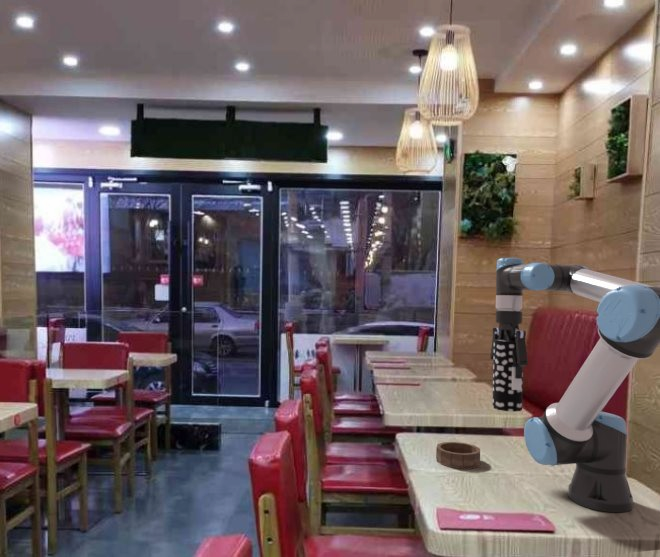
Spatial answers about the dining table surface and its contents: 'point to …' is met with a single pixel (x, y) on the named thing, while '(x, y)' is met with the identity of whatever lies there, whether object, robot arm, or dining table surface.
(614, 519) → the dining table surface
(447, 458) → the holder
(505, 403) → the white-spotted black cylinder
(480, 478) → the dining table surface
